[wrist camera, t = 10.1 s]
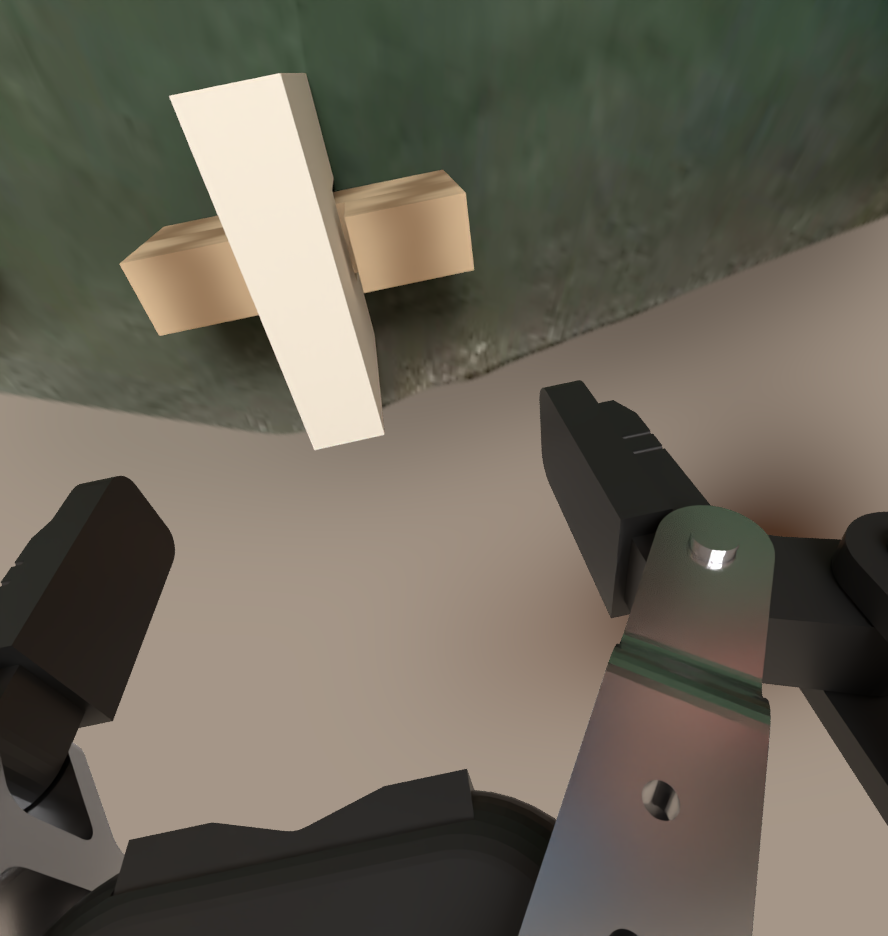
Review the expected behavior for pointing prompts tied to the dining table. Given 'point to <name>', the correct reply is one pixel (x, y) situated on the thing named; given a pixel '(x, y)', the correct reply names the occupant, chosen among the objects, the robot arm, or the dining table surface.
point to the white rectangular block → (290, 245)
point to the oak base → (367, 237)
